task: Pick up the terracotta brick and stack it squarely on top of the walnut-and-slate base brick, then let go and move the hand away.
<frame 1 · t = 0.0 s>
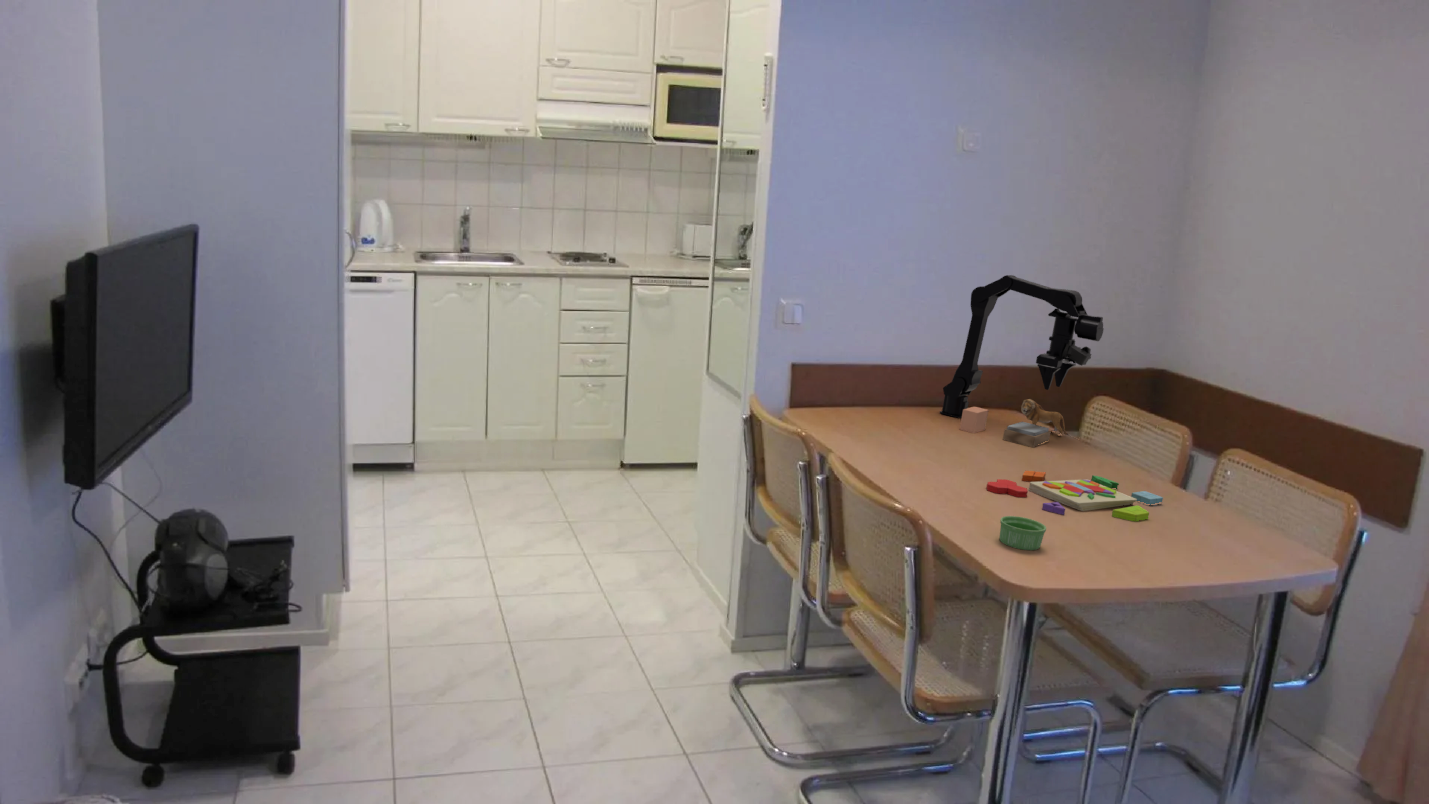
hand: (1052, 388, 331), 15 cm above the table, fingers open, 9 cm apart
ramekin: (1019, 544, 232), on the table
lion figurine: (1040, 432, 341), on the table
terracotta brick: (972, 429, 332), on the table
pattern blocks set: (1078, 500, 272), on the table
base brick: (1025, 440, 326), on the table
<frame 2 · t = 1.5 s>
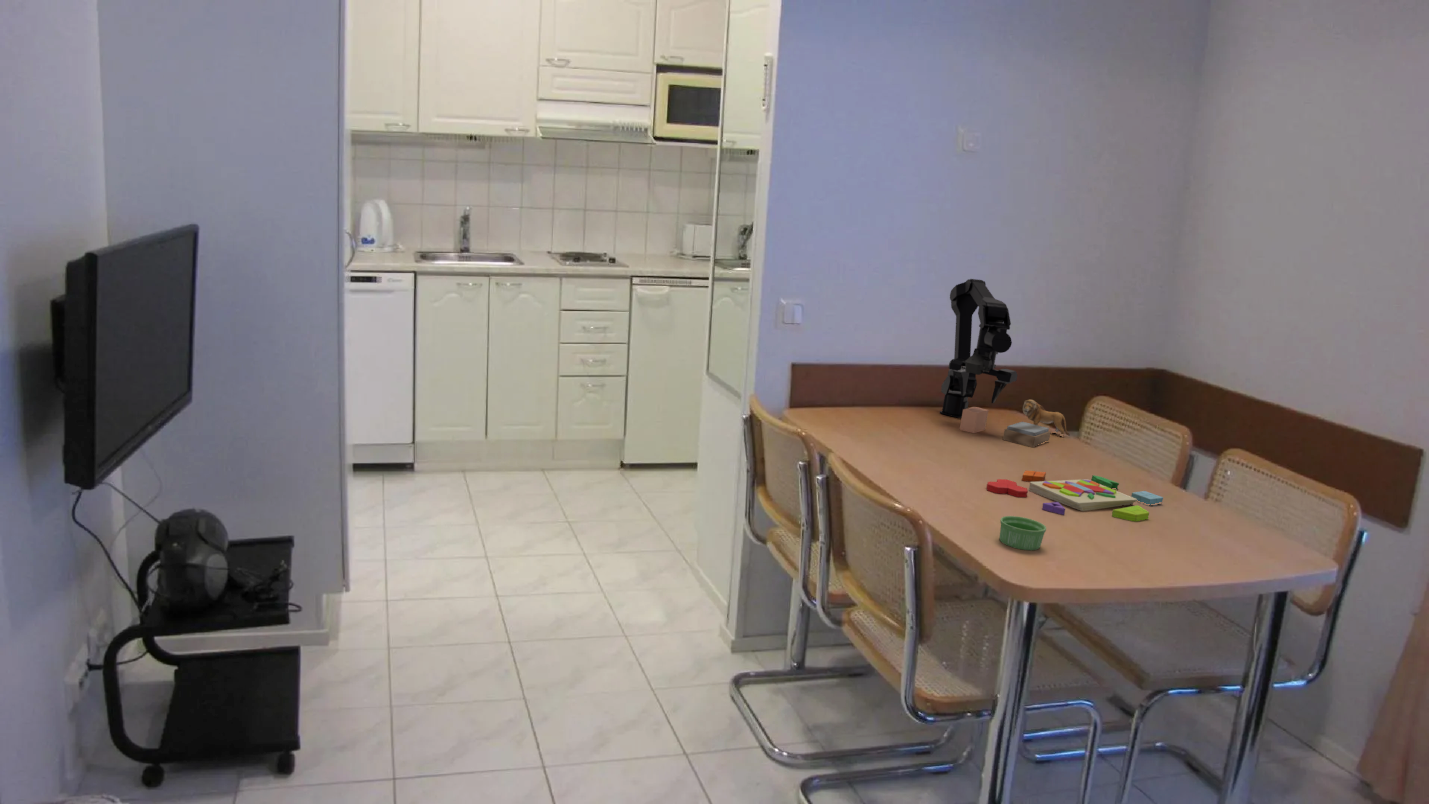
hand: (977, 399, 331), 9 cm above the table, fingers open, 9 cm apart
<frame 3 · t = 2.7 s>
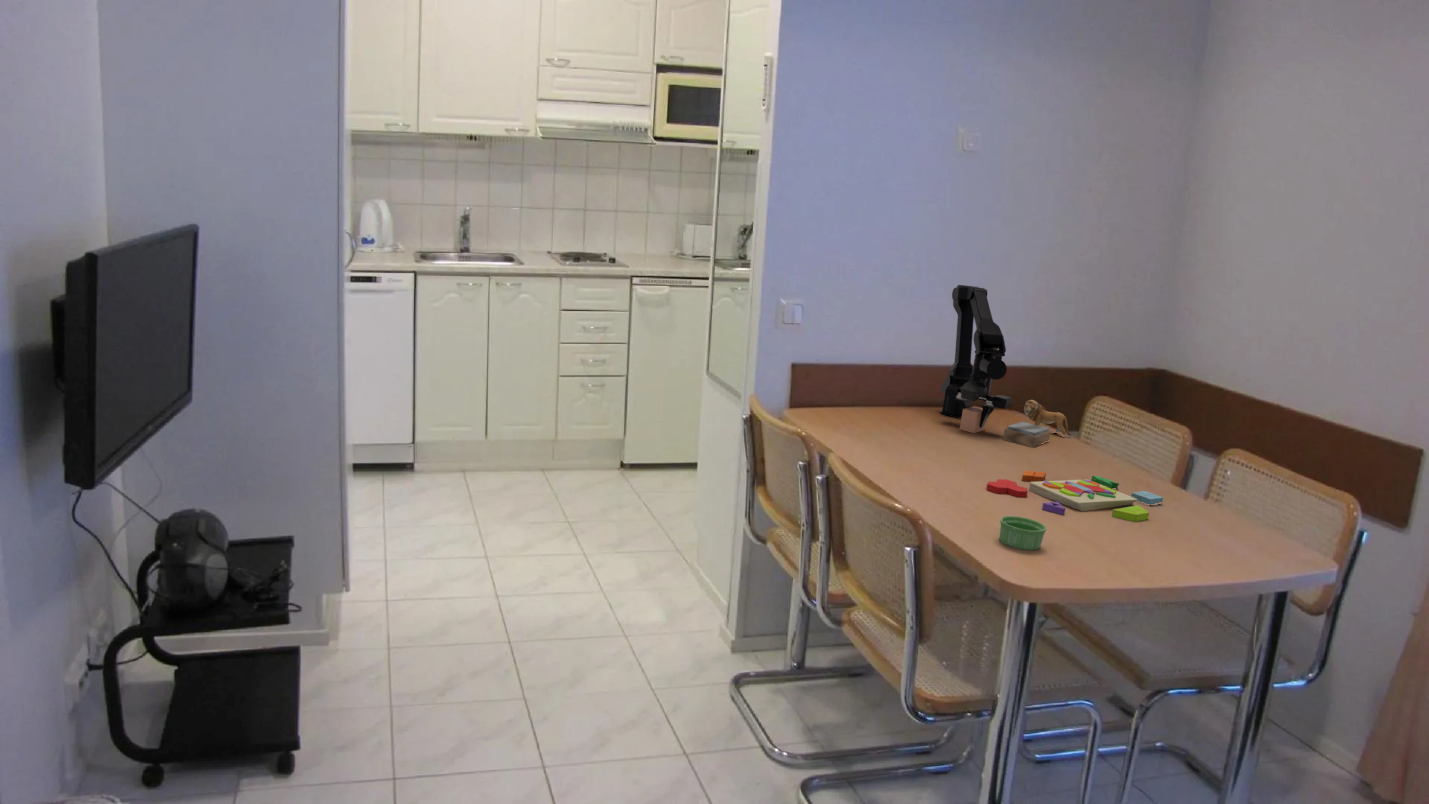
hand: (973, 425, 332), 1 cm above the table, fingers closed on terracotta brick, 4 cm apart
terracotta brick: (972, 429, 332), on the table, touching gripper
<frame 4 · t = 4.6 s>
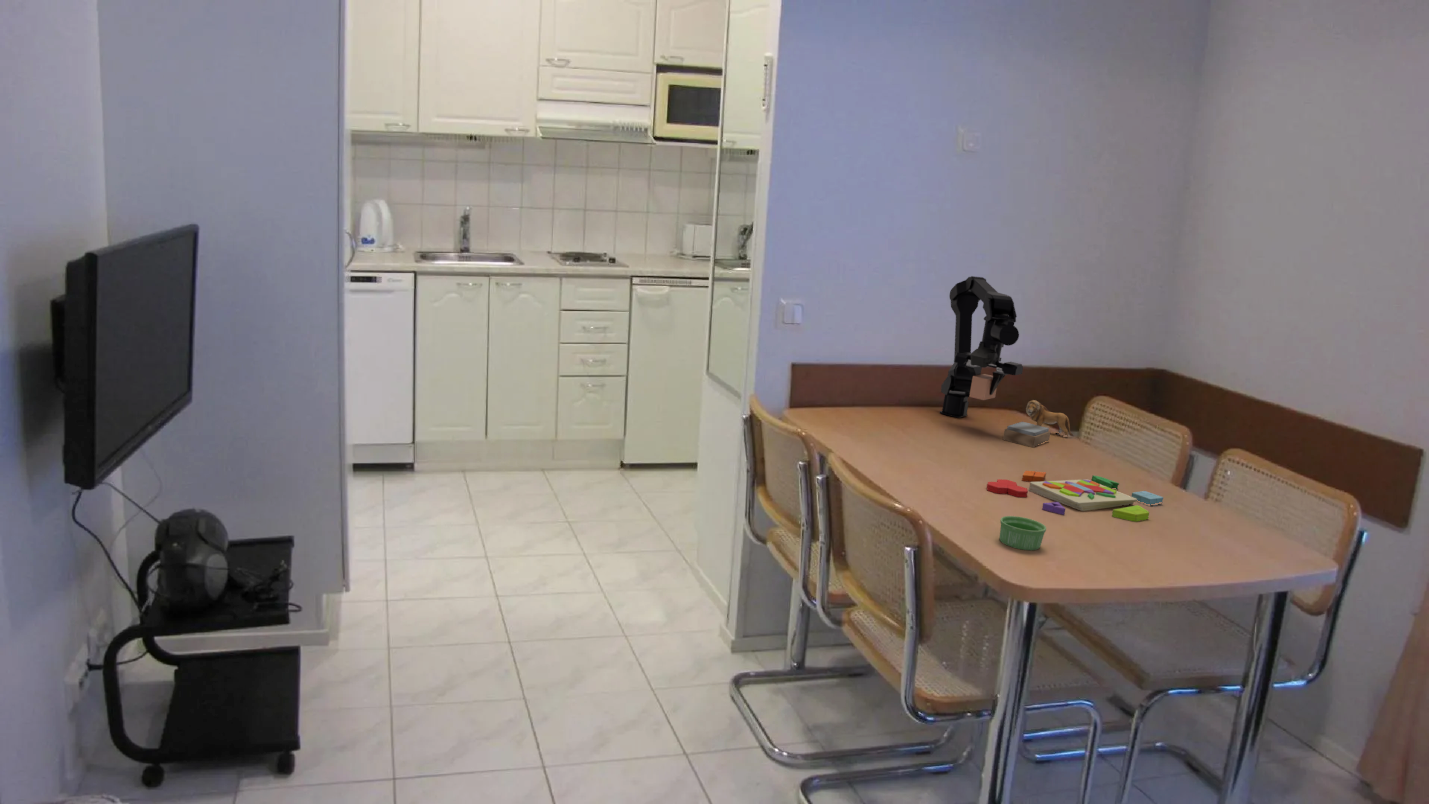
hand: (983, 392, 329), 11 cm above the table, fingers closed on terracotta brick, 4 cm apart
terracotta brick: (982, 397, 330), point 10 cm above the table, touching gripper
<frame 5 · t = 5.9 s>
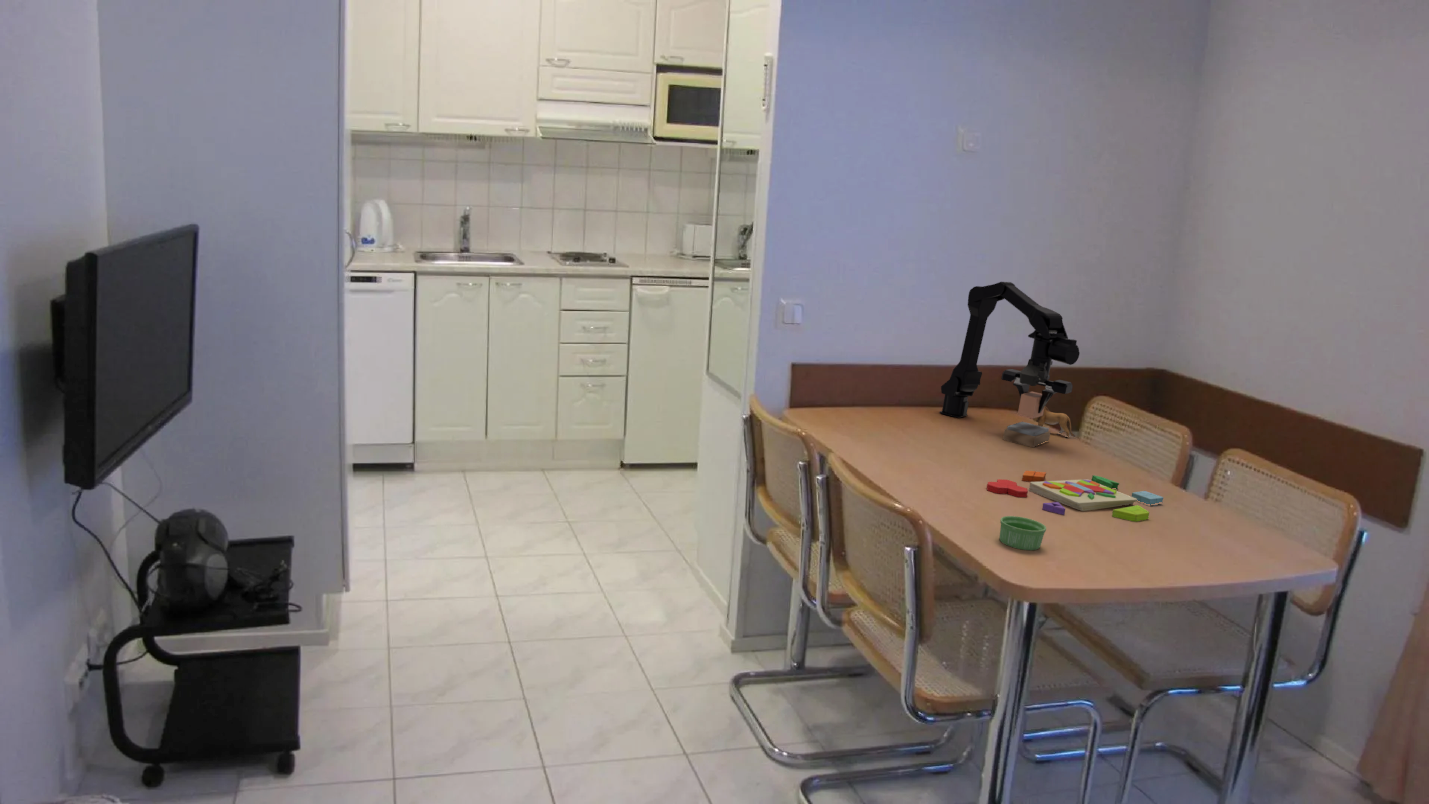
hand: (1031, 411, 325), 9 cm above the table, fingers closed on terracotta brick, 4 cm apart
terracotta brick: (1030, 415, 325), point 7 cm above the table, touching gripper
when the fingers open (6 cm above the table, at t = 6.6 s): terracotta brick drops 1 cm, resting on base brick.
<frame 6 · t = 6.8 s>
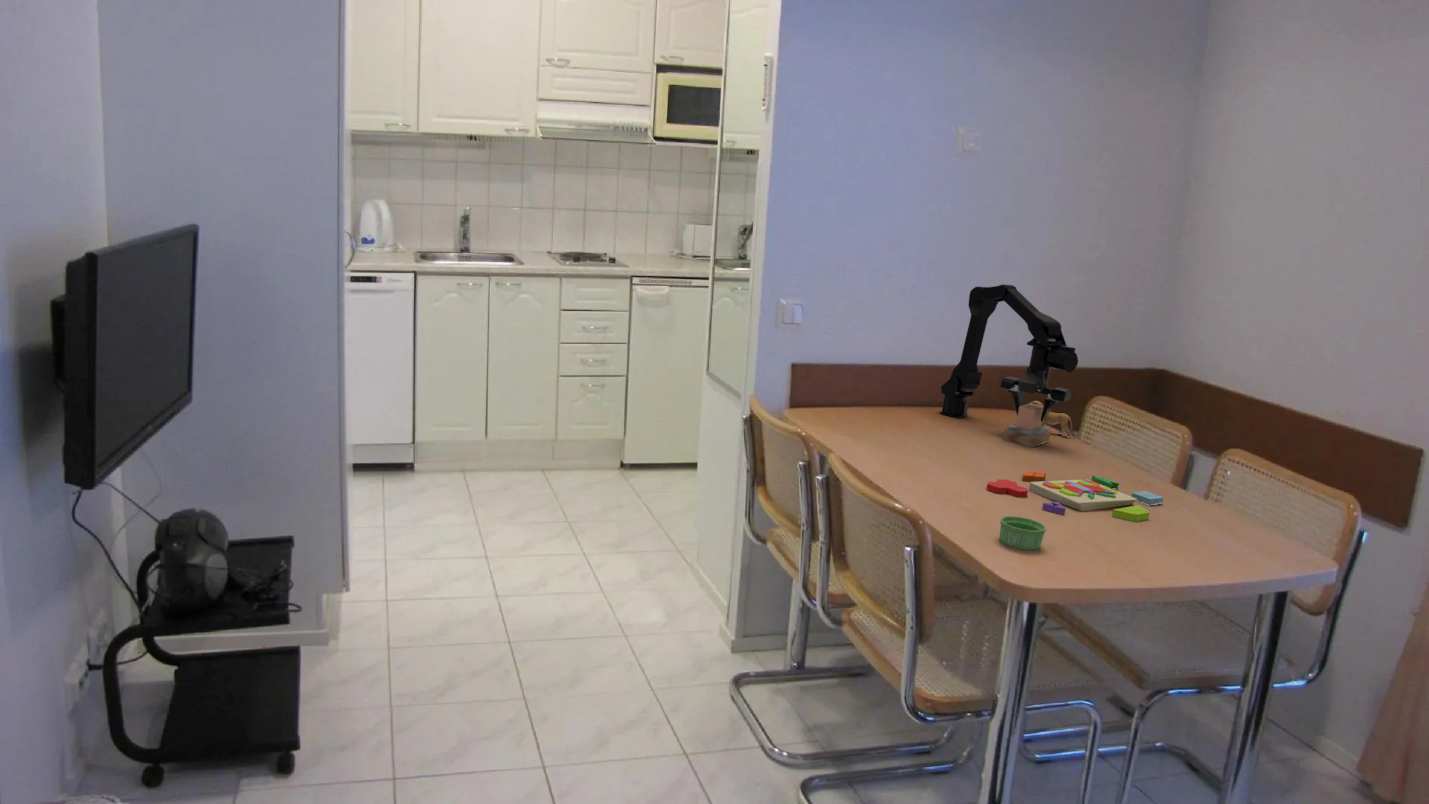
hand: (1029, 418, 325), 6 cm above the table, fingers open, 7 cm apart
terracotta brick: (1028, 427, 326), point 4 cm above the table, touching base brick
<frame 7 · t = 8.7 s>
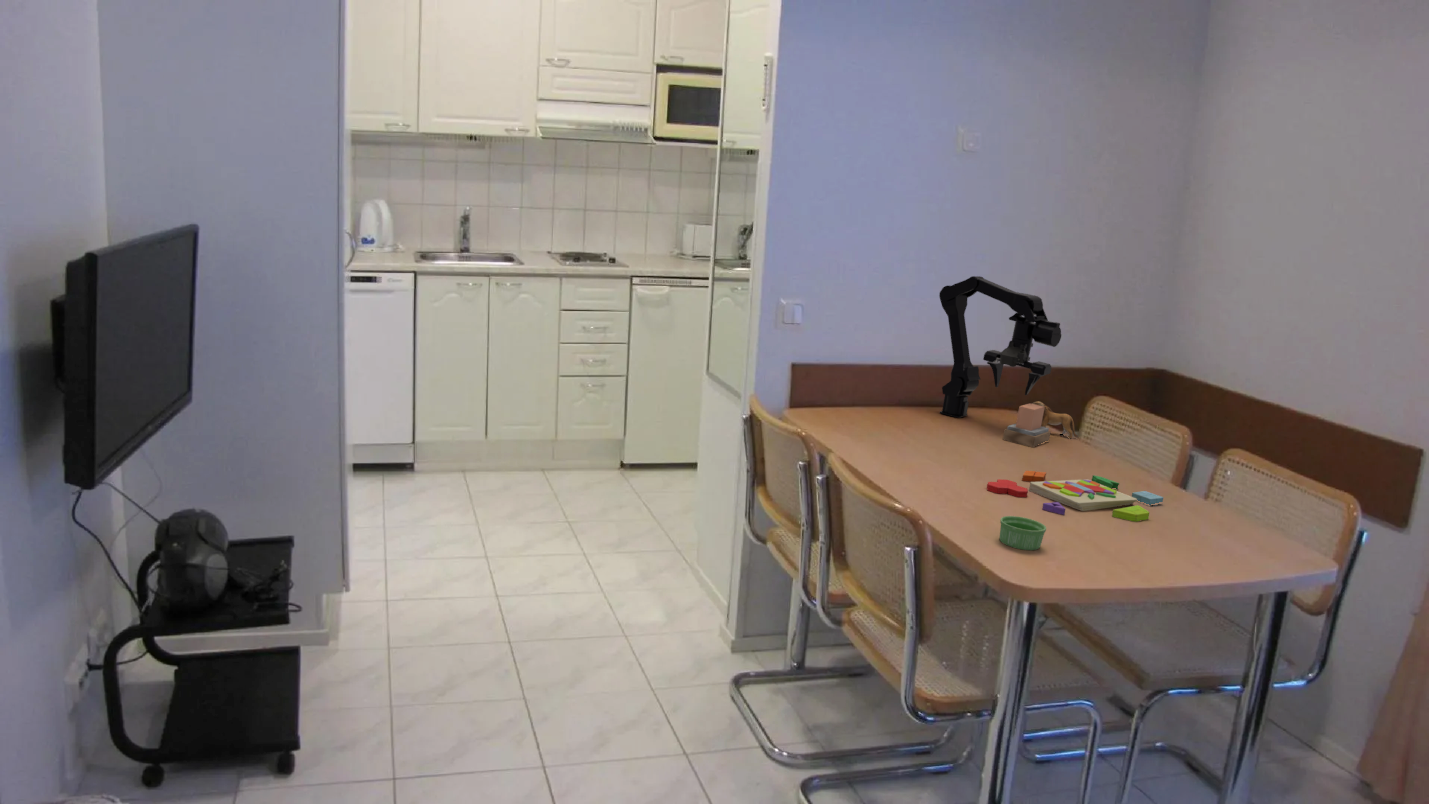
hand: (1011, 391, 335), 12 cm above the table, fingers open, 9 cm apart
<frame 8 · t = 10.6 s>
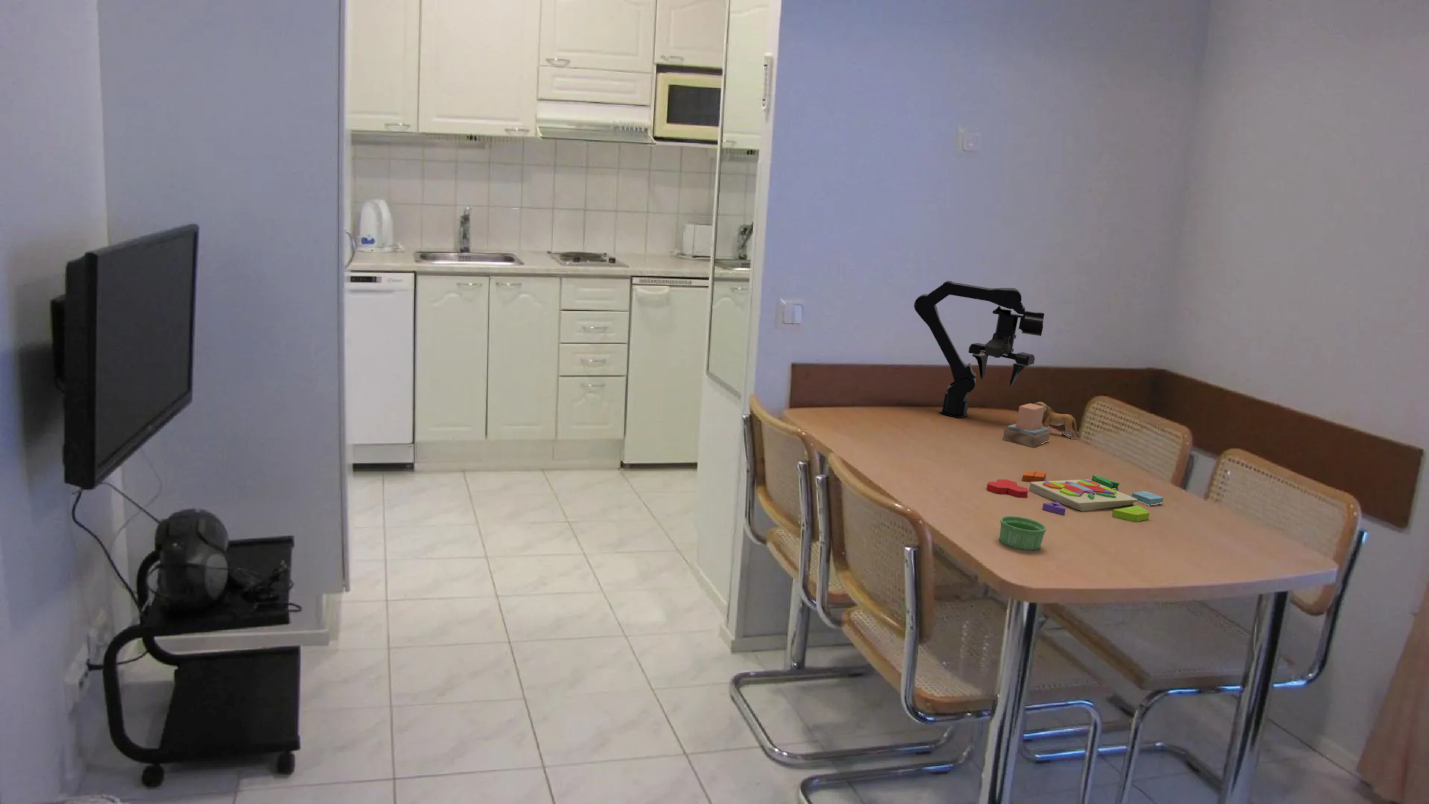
hand: (996, 382, 345), 12 cm above the table, fingers open, 9 cm apart
at the end: terracotta brick inside the target area on the base brick (0.1 cm from its centre), point 4.0 cm above the base brick's base; terracotta brick tilted 0°; the gripper is holding nothing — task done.
